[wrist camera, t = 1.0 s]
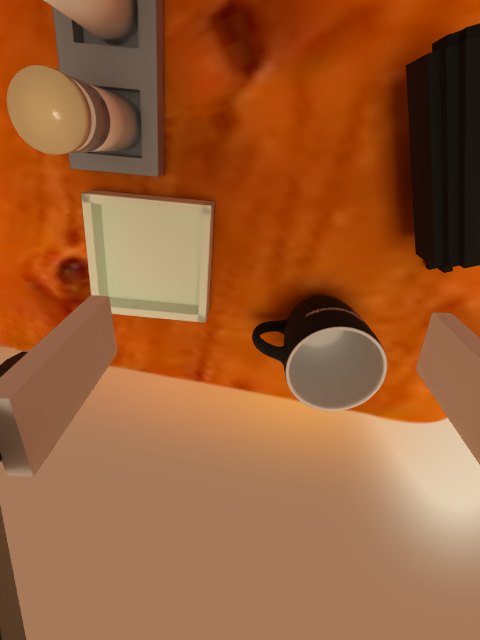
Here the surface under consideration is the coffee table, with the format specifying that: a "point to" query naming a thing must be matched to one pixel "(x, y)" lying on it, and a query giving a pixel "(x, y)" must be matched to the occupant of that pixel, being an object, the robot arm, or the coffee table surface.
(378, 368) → the mug
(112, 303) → the parts tray
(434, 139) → the security camera
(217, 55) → the coffee table surface
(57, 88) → the fuse
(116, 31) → the block
